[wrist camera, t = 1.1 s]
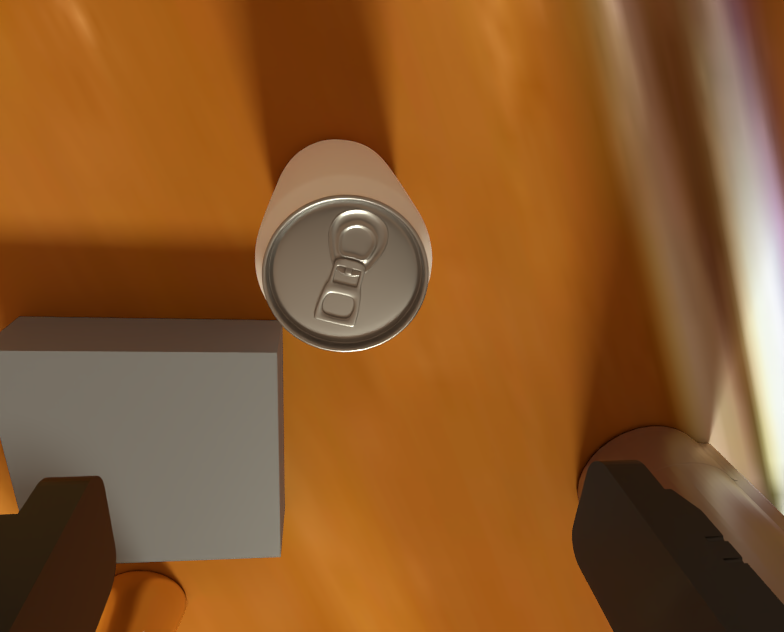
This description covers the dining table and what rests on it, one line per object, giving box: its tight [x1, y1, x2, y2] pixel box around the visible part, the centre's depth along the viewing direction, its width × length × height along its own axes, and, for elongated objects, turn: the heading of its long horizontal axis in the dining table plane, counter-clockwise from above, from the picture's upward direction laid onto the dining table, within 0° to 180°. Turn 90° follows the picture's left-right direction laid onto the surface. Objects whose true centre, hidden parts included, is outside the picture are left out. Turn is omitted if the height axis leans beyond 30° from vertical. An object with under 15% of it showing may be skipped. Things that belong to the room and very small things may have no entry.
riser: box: [0, 316, 285, 563], centre depth 32 cm, size 14×14×4 cm
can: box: [255, 139, 432, 352], centre depth 24 cm, size 6×6×12 cm
